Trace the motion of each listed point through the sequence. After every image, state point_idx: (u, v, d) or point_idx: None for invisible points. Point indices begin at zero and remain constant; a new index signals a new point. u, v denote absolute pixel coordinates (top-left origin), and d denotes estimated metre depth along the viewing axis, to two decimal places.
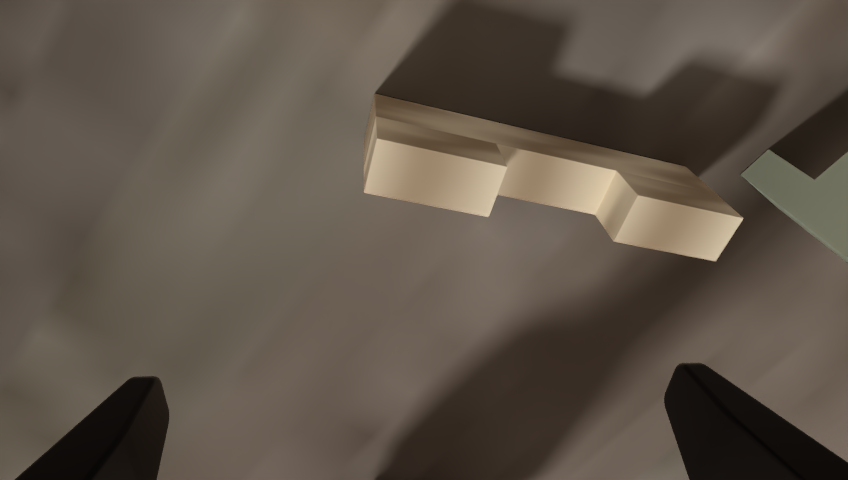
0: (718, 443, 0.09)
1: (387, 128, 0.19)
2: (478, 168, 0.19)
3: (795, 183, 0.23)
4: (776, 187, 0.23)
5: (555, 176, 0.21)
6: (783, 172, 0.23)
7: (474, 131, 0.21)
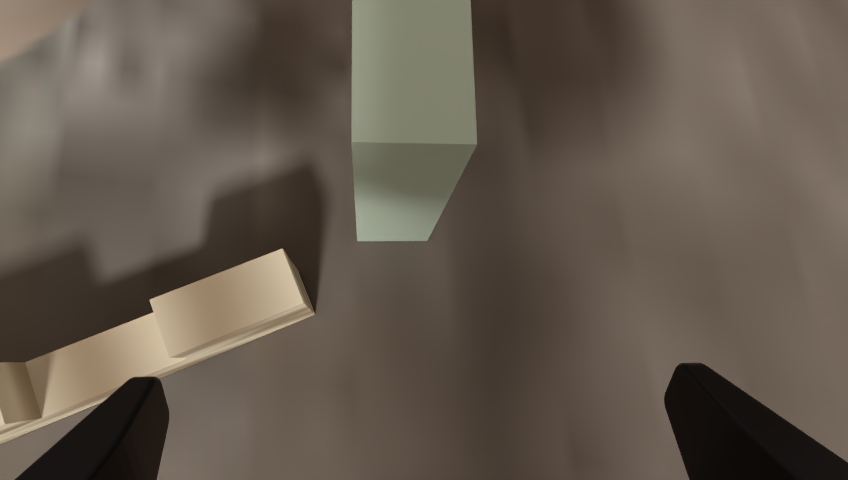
0: (718, 443, 0.09)
1: None
2: None
3: None
4: None
5: (112, 350, 0.20)
6: None
7: None
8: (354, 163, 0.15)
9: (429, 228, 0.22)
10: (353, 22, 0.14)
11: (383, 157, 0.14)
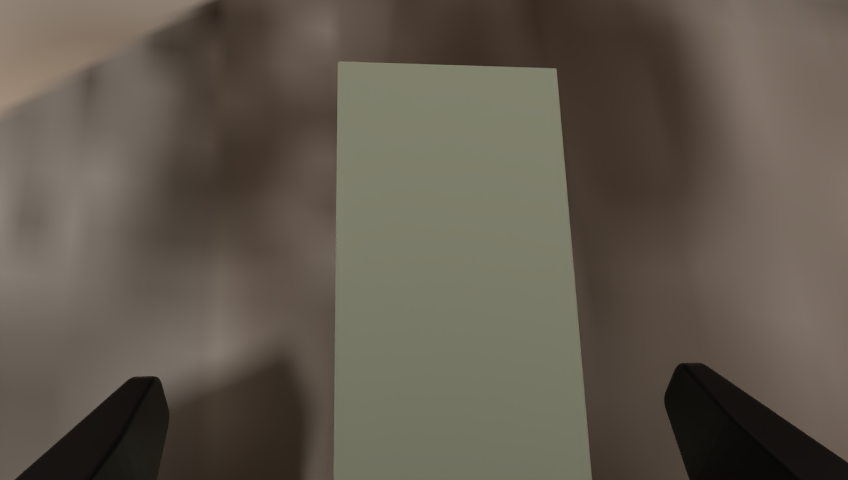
0: (718, 443, 0.09)
1: None
2: None
3: None
4: None
5: None
6: None
7: None
8: None
9: None
10: (337, 356, 0.07)
11: None
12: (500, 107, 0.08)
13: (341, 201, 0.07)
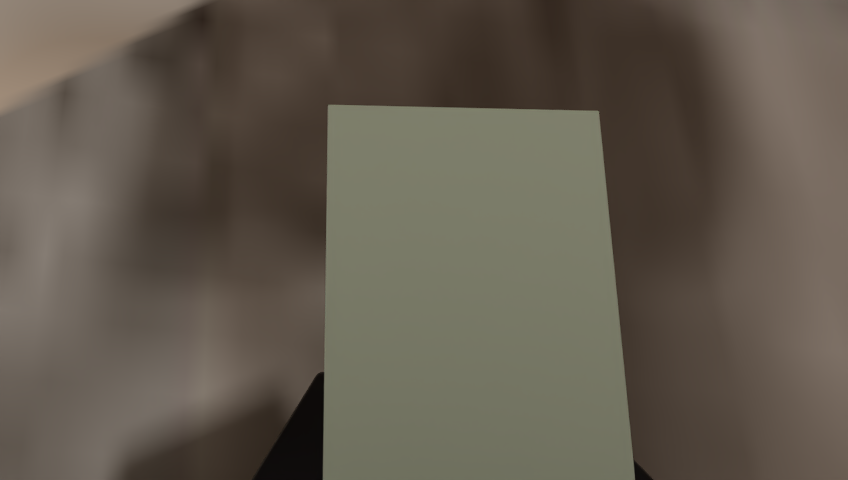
0: None
1: None
2: None
3: None
4: None
5: None
6: None
7: None
8: None
9: None
10: None
11: None
12: (530, 162, 0.06)
13: (331, 286, 0.06)
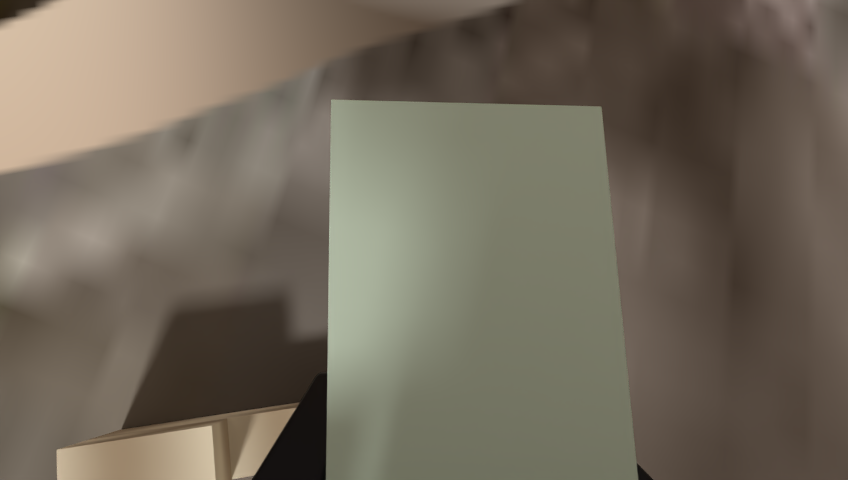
0: None
1: (87, 442, 0.18)
2: (180, 439, 0.17)
3: None
4: None
5: None
6: None
7: (211, 418, 0.20)
8: None
9: None
10: None
11: None
12: (531, 156, 0.06)
13: (334, 280, 0.06)
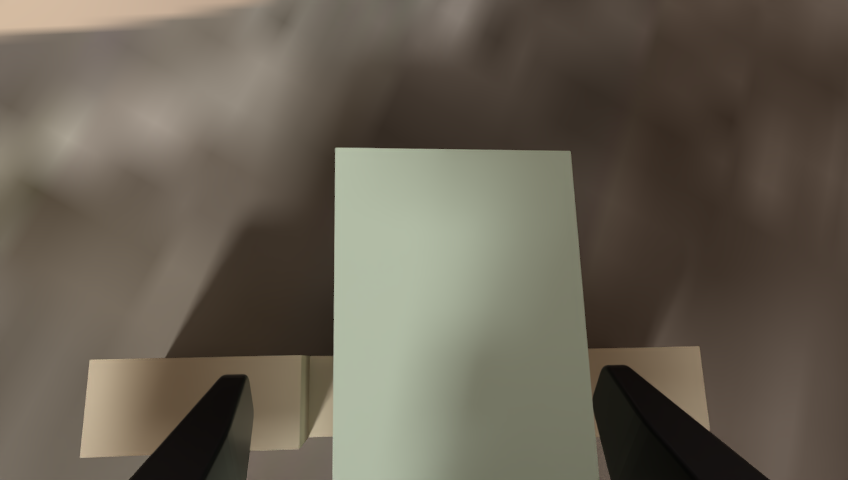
0: (634, 446, 0.09)
1: None
2: (257, 368, 0.12)
3: None
4: None
5: None
6: None
7: None
8: None
9: None
10: None
11: None
12: (509, 197, 0.07)
13: (339, 305, 0.06)
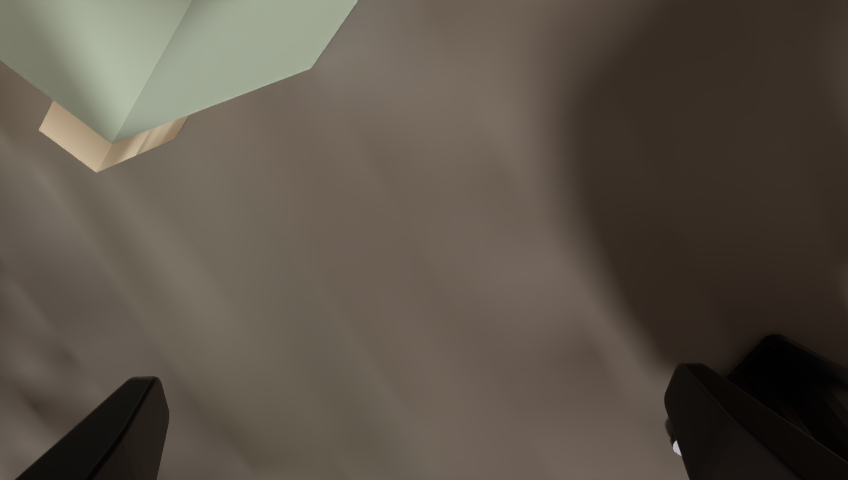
0: (718, 443, 0.09)
1: None
2: None
3: None
4: None
5: None
6: None
7: None
8: (160, 124, 0.11)
9: (339, 1, 0.16)
10: None
11: (165, 98, 0.10)
12: None
13: None
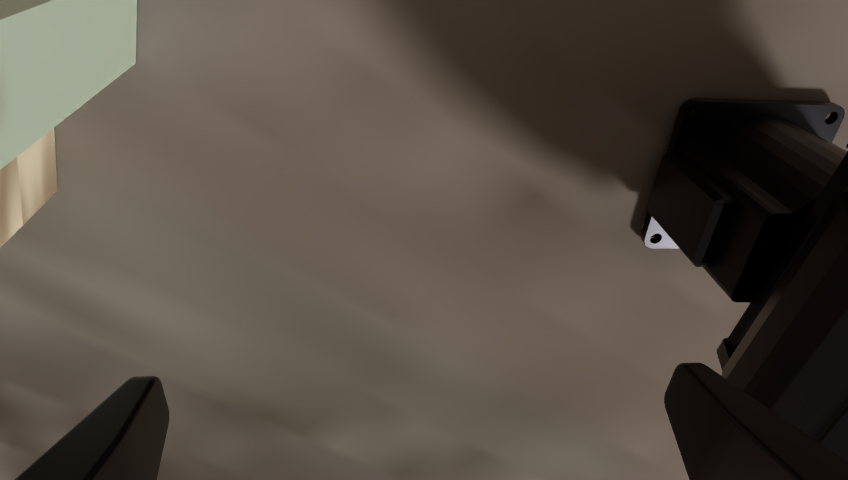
0: (718, 443, 0.09)
1: None
2: None
3: None
4: None
5: None
6: None
7: None
8: None
9: None
10: None
11: None
12: None
13: None
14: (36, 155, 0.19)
